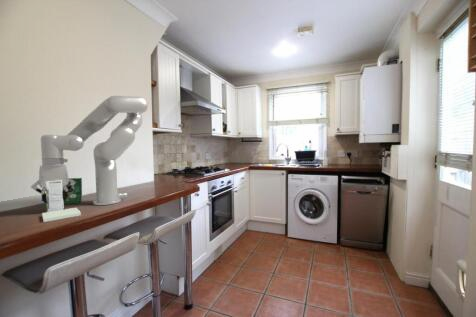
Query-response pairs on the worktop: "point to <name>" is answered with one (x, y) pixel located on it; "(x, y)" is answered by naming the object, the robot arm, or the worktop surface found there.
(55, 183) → the syrup box
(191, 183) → the worktop surface
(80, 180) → the coffee box
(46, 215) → the sage board
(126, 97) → the robot arm
